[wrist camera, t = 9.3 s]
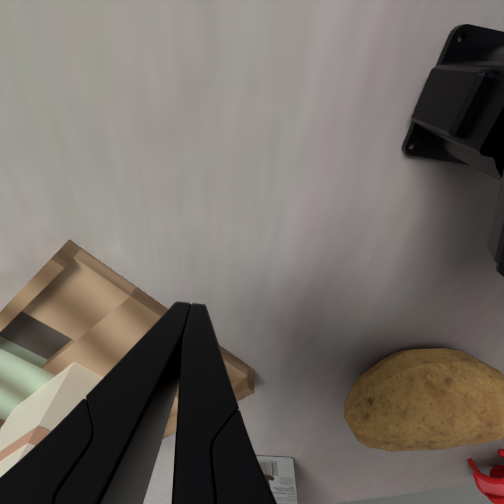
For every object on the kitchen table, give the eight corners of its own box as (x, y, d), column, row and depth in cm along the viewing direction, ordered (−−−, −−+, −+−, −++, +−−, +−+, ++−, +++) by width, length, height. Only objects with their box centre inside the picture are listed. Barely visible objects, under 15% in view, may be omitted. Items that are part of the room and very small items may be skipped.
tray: (69, 239, 22) (50, 259, 20) (253, 369, 31) (254, 392, 29) (-68, 382, 32) (-90, 406, 30) (103, 451, 41) (95, 472, 39)
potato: (325, 344, 29) (347, 430, 22) (480, 312, 27) (557, 397, 20) (339, 398, 34) (361, 481, 28) (471, 375, 32) (529, 459, 25)
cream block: (74, 360, 28) (10, 472, 21) (127, 389, 31) (88, 497, 23) (13, 407, 33) (-57, 514, 25) (65, 428, 35) (15, 531, 28)
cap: (464, 483, 40) (488, 524, 40) (519, 488, 36) (546, 533, 36) (466, 437, 46) (487, 472, 46) (514, 437, 42) (537, 475, 42)
